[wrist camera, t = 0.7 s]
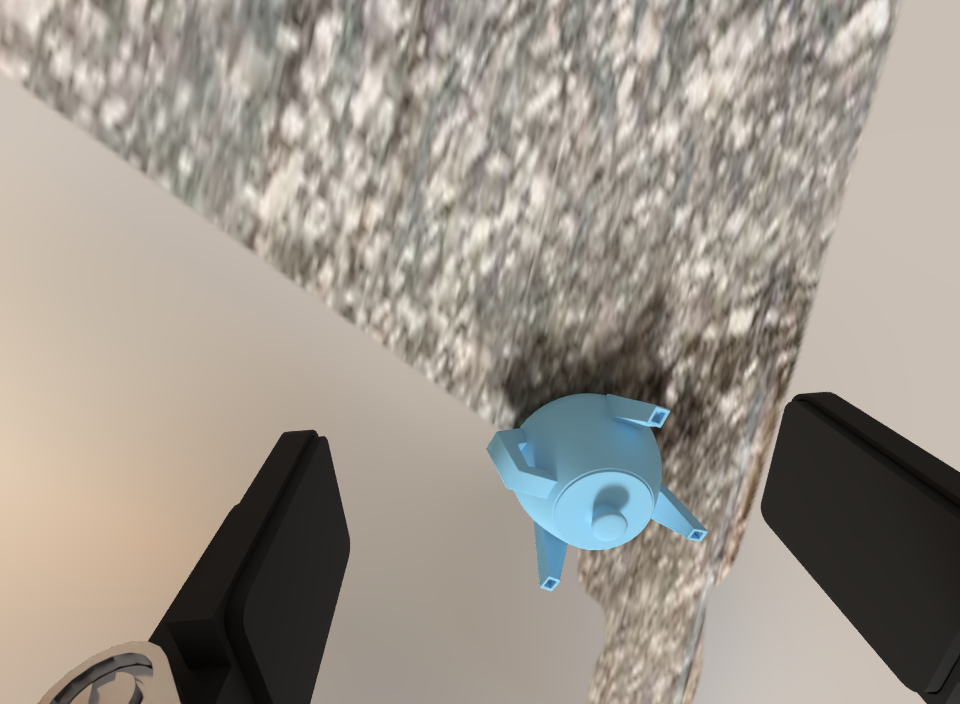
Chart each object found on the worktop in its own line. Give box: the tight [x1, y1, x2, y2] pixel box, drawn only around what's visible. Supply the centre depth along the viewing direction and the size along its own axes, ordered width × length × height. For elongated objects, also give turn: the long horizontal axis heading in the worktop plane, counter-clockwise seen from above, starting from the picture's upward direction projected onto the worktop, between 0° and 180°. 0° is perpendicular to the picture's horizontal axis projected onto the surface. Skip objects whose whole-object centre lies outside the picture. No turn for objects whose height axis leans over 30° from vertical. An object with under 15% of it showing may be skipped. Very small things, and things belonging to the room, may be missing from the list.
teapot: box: [486, 393, 708, 591], centre depth 40 cm, size 15×15×11 cm
